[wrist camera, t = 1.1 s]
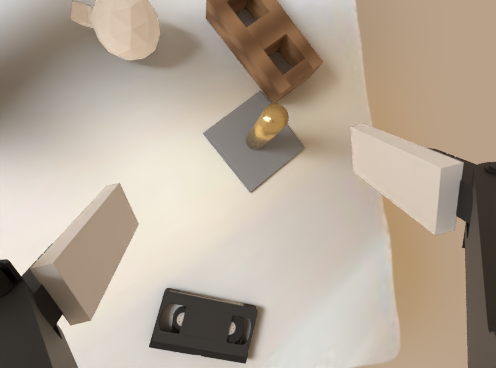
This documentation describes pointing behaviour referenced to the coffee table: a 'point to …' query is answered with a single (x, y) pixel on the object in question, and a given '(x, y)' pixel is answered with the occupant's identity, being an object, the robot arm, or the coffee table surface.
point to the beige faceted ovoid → (121, 26)
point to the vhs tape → (205, 326)
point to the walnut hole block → (264, 43)
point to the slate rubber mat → (240, 155)
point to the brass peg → (267, 126)
